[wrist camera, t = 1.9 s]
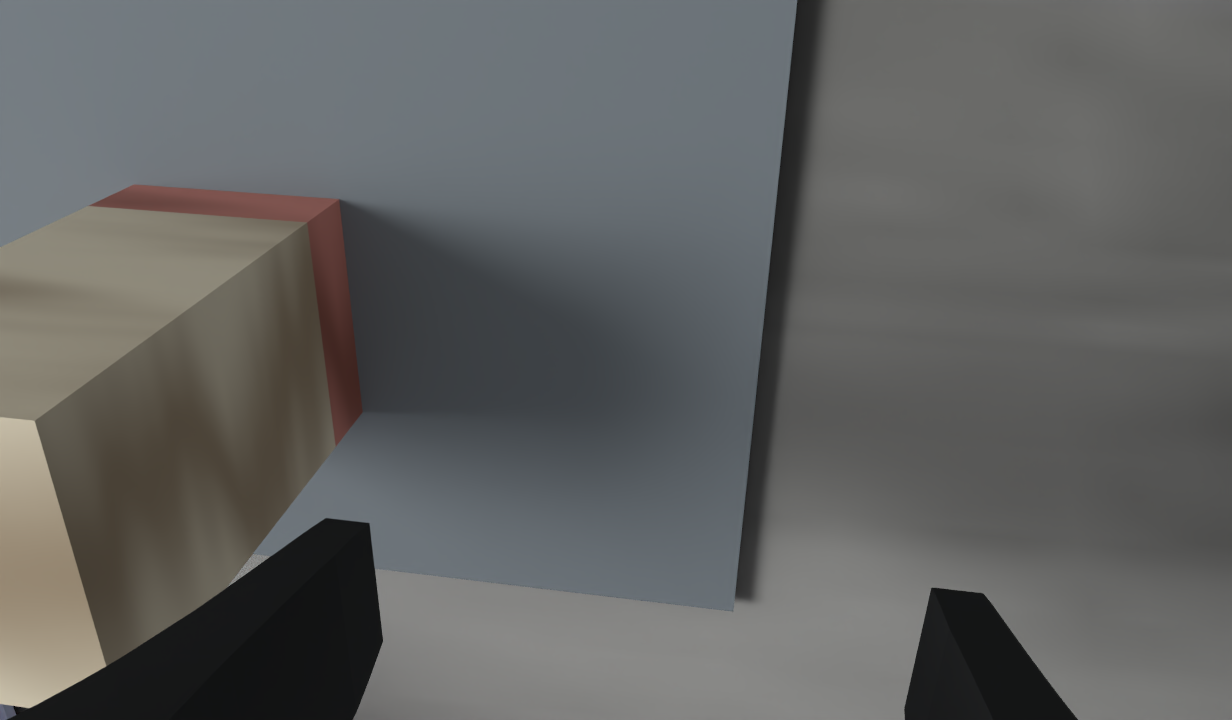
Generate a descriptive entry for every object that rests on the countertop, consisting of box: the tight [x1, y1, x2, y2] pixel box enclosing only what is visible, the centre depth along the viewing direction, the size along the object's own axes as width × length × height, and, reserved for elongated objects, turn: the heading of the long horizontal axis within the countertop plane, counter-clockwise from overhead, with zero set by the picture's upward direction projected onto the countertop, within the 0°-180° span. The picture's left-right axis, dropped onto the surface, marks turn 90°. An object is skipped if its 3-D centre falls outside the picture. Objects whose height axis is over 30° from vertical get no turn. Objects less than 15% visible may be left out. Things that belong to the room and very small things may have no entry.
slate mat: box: [0, 0, 797, 611], centre depth 21 cm, size 16×24×1 cm, turn 89°
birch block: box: [0, 184, 363, 708], centre depth 17 cm, size 5×4×9 cm
